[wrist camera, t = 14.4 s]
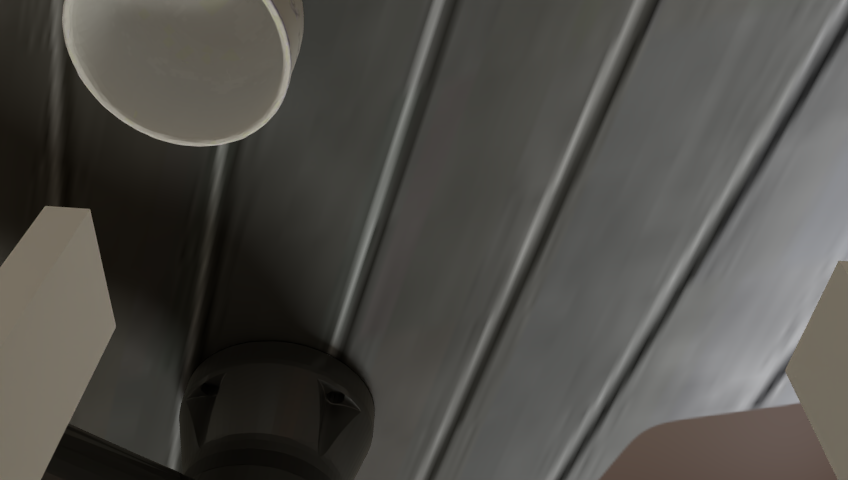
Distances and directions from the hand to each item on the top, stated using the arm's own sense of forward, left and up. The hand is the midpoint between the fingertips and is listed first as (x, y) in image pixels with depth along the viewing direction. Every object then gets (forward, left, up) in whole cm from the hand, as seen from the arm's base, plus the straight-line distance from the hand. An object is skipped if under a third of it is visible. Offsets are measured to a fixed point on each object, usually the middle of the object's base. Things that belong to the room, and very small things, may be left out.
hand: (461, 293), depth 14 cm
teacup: (-5, +13, -32) cm, 35 cm away
